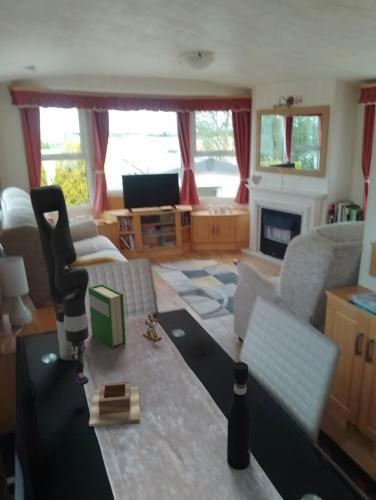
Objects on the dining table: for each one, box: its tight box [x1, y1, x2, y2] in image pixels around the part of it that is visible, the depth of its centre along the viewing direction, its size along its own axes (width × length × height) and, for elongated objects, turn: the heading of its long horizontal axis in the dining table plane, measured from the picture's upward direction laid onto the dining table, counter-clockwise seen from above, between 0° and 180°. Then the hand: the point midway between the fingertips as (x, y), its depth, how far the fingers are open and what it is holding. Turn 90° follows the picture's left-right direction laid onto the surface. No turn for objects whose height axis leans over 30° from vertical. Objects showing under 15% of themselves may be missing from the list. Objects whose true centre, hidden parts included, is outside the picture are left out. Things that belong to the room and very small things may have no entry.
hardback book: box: [87, 283, 127, 350], centre depth 179 cm, size 18×7×24 cm, turn 41°
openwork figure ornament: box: [142, 312, 162, 342], centre depth 182 cm, size 9×4×12 cm, turn 47°
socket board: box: [88, 380, 141, 427], centre depth 134 cm, size 18×16×6 cm
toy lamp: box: [71, 341, 90, 386], centre depth 136 cm, size 5×5×17 cm
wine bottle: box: [226, 361, 252, 471], centre depth 107 cm, size 6×6×30 cm
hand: (80, 370), depth 137 cm, fingers closed on toy lamp
